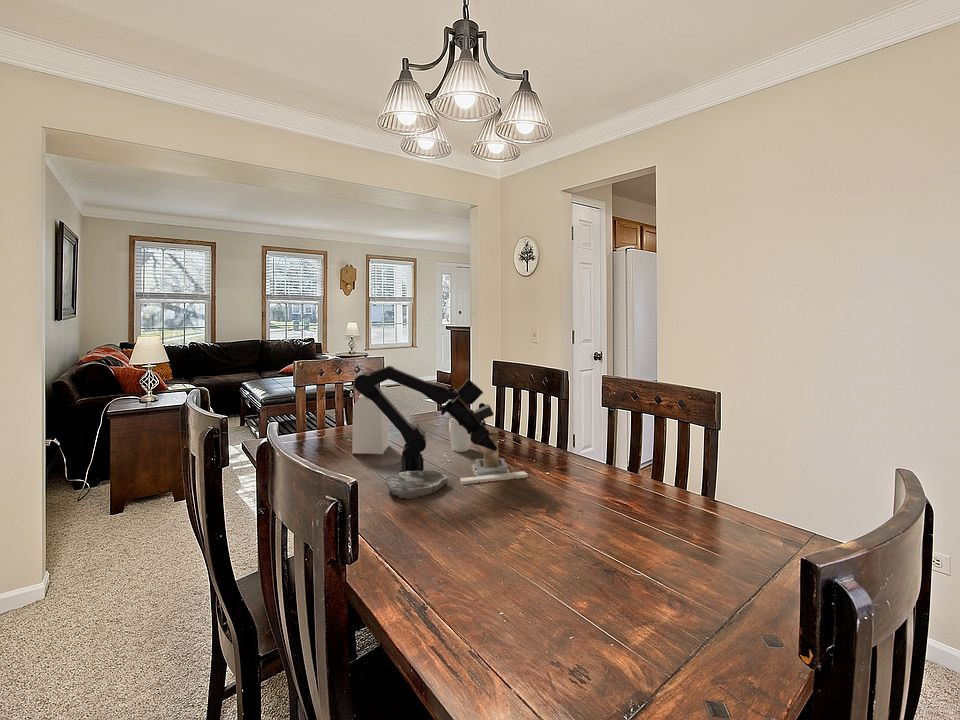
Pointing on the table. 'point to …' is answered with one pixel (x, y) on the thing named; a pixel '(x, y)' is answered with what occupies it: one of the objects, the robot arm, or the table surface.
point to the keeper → (489, 468)
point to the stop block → (491, 451)
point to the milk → (369, 427)
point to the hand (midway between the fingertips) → (494, 445)
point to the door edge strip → (493, 477)
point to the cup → (458, 436)
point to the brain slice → (415, 483)
